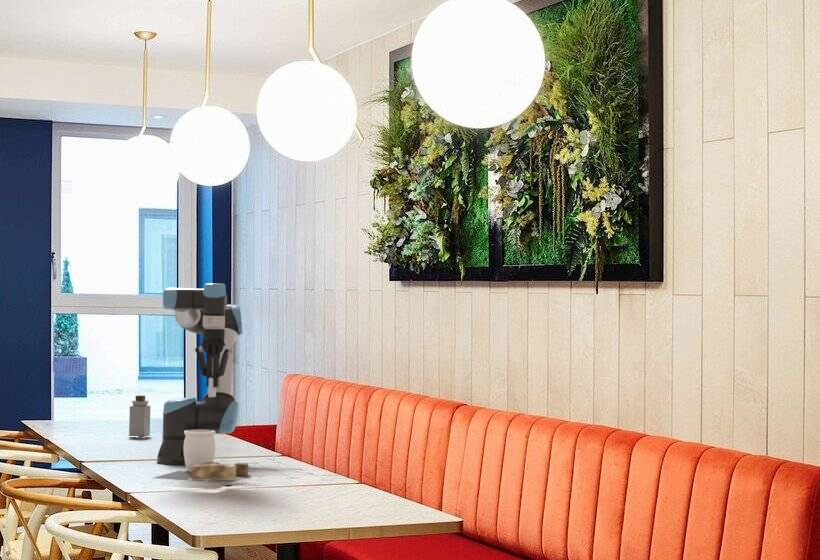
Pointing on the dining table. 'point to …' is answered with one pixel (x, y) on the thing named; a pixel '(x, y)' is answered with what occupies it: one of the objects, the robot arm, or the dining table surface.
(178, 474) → the mat
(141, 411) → the perfume bottle
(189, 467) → the jar
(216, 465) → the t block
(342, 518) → the dining table surface
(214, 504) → the dining table surface
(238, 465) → the walnut cube
